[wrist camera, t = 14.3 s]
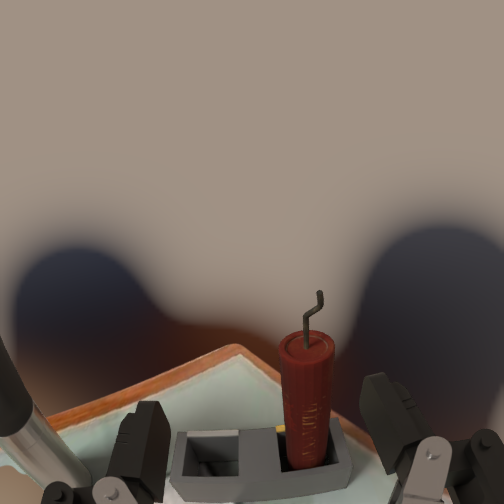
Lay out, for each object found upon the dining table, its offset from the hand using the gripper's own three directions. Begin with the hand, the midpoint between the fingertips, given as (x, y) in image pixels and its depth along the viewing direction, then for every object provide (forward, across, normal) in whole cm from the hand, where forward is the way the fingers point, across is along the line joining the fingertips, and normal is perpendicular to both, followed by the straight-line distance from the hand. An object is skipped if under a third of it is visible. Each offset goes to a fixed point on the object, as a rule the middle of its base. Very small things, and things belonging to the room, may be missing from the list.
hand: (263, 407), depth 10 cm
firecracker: (+12, -5, +32) cm, 35 cm away
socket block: (+13, +1, +32) cm, 34 cm away
